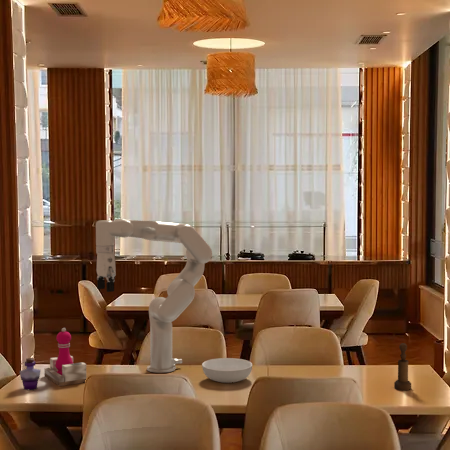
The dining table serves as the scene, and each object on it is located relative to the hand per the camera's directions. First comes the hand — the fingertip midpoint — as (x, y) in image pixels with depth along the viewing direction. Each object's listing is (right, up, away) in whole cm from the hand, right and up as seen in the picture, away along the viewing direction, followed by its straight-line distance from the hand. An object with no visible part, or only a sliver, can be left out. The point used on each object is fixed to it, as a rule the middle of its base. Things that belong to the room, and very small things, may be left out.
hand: (105, 290), depth 324 cm
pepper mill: (-17, -35, -4) cm, 39 cm away
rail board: (-16, -37, -4) cm, 40 cm away
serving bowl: (+51, -37, -6) cm, 63 cm away
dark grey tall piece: (+121, -38, -19) cm, 128 cm away
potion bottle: (-27, -38, -18) cm, 50 cm away
